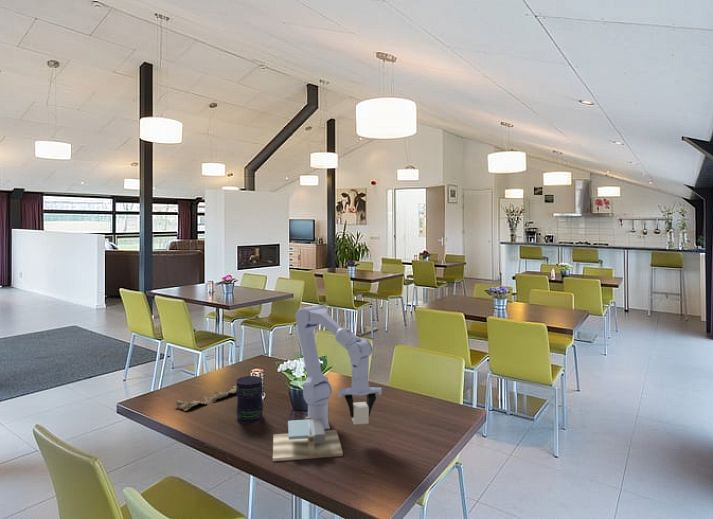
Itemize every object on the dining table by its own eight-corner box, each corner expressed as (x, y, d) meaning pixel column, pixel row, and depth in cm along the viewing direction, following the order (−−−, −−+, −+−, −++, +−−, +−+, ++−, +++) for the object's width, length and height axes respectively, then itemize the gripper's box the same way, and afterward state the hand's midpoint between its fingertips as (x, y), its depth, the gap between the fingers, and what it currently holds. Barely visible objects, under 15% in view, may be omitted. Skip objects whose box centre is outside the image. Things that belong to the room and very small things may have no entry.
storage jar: (234, 415, 180) (233, 378, 179) (259, 411, 184) (258, 374, 183) (240, 425, 171) (239, 385, 170) (266, 420, 175) (265, 381, 175)
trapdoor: (288, 429, 160) (287, 420, 160) (321, 427, 162) (321, 418, 161) (288, 445, 148) (288, 436, 147) (325, 443, 149) (324, 433, 149)
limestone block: (351, 418, 159) (351, 402, 159) (365, 417, 160) (365, 401, 160) (353, 424, 154) (353, 408, 154) (368, 423, 155) (368, 407, 155)
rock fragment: (238, 387, 216) (239, 380, 216) (254, 391, 210) (254, 385, 210) (172, 407, 188) (172, 400, 188) (188, 413, 182) (188, 406, 182)
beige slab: (273, 437, 161) (273, 418, 161) (336, 432, 165) (336, 414, 165) (272, 461, 145) (272, 440, 144) (342, 455, 148) (342, 435, 148)
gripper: (340, 381, 151) (340, 422, 152) (383, 379, 154) (383, 419, 155) (337, 374, 158) (337, 413, 159) (379, 372, 161) (379, 411, 161)
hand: (359, 416), depth 157 cm, fingers closed on limestone block, 5 cm apart
